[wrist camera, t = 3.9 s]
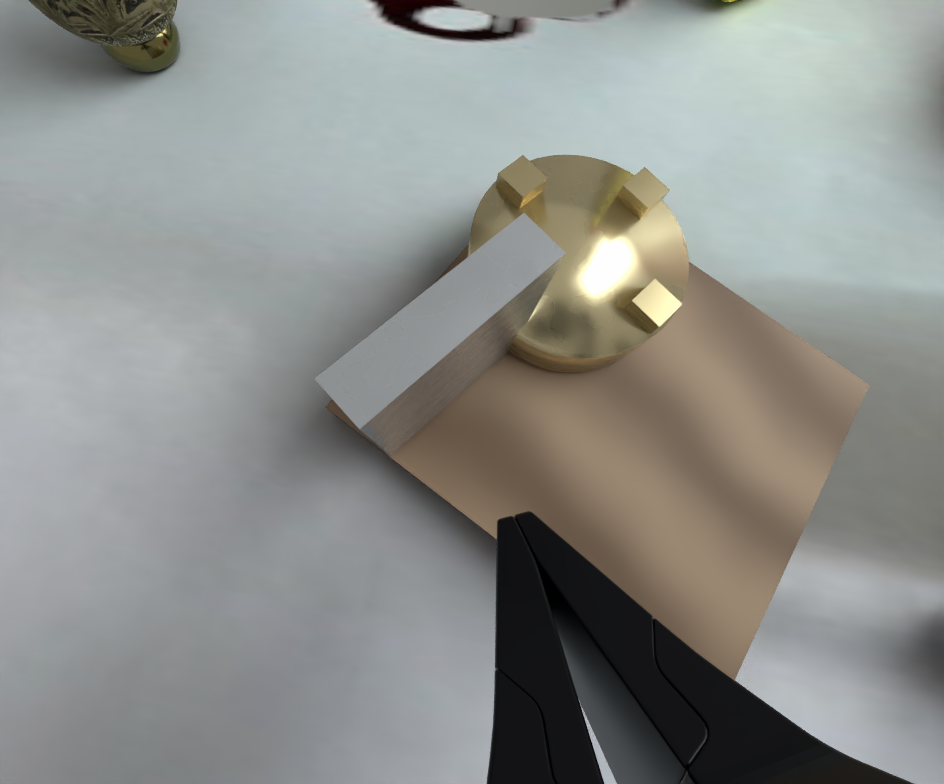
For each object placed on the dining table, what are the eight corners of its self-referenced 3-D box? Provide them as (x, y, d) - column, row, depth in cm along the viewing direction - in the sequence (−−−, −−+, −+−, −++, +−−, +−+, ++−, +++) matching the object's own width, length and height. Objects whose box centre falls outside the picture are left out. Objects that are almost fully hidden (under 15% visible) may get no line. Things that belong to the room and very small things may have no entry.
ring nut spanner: (559, 163, 20) (623, -4, 13) (695, 288, 19) (838, 176, 12) (304, 360, 17) (215, 268, 10) (454, 527, 16) (471, 554, 9)
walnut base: (694, 692, 17) (719, 711, 15) (334, 413, 18) (325, 407, 16) (838, 392, 21) (869, 384, 19) (534, 183, 22) (541, 161, 20)
